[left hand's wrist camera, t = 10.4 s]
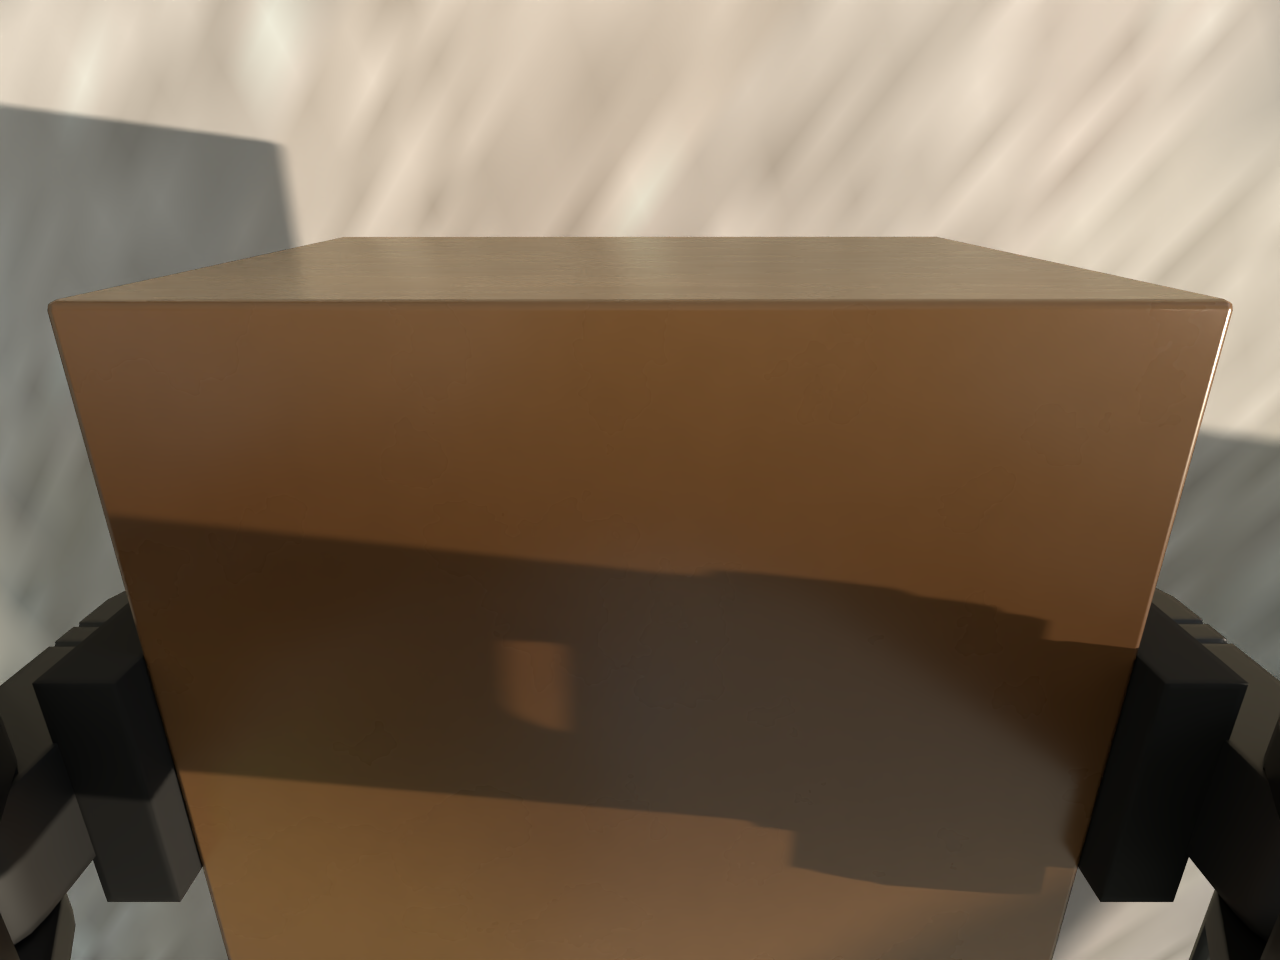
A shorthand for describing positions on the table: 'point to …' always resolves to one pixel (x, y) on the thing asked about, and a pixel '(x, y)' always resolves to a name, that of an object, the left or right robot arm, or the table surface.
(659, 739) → the long beam
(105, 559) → the table surface
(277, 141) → the table surface
